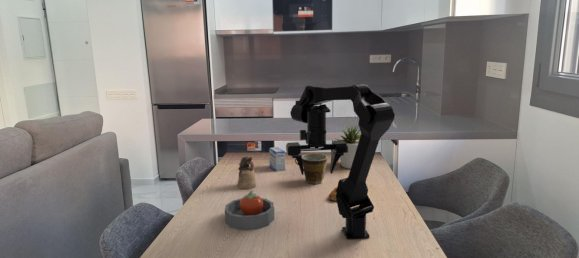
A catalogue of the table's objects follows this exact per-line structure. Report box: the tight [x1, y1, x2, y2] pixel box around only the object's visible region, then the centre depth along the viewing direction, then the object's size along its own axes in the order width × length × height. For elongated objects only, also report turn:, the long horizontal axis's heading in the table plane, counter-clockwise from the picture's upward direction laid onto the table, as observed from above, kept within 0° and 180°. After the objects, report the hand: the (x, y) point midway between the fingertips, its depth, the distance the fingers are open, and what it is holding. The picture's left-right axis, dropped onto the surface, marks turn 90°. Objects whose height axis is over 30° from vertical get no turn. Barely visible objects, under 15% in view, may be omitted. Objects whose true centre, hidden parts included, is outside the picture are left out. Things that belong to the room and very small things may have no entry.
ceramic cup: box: [294, 153, 328, 185], centre depth 155 cm, size 13×10×10 cm
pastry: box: [328, 186, 338, 202], centre depth 139 cm, size 9×7×4 cm
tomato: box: [240, 190, 263, 216], centre depth 123 cm, size 7×7×8 cm
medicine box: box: [268, 146, 286, 172], centre depth 171 cm, size 8×4×9 cm, turn 25°
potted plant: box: [334, 123, 361, 170], centre depth 171 cm, size 13×14×20 cm
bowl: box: [224, 197, 275, 231], centre depth 123 cm, size 15×15×4 cm
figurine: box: [237, 155, 258, 190], centre depth 150 cm, size 7×7×12 cm
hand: (316, 174), depth 124 cm, fingers open, 9 cm apart
